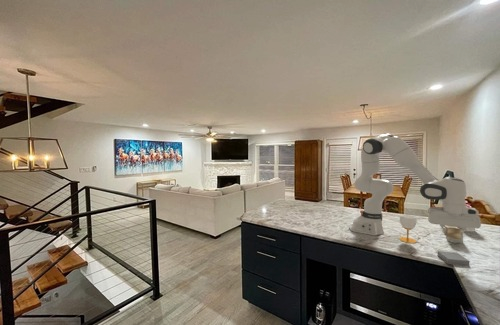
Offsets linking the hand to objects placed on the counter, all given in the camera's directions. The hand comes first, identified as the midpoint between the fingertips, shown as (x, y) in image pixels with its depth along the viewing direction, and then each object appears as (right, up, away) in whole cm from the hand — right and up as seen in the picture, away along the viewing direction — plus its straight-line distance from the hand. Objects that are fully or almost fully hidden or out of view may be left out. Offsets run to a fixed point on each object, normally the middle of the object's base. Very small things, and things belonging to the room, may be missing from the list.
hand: (452, 233), depth 111 cm
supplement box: (+25, -13, +25) cm, 37 cm away
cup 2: (+51, -12, +42) cm, 67 cm away
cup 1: (-4, -14, +26) cm, 30 cm away
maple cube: (0, -2, 0) cm, 2 cm away
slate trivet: (+1, -15, +1) cm, 15 cm away
